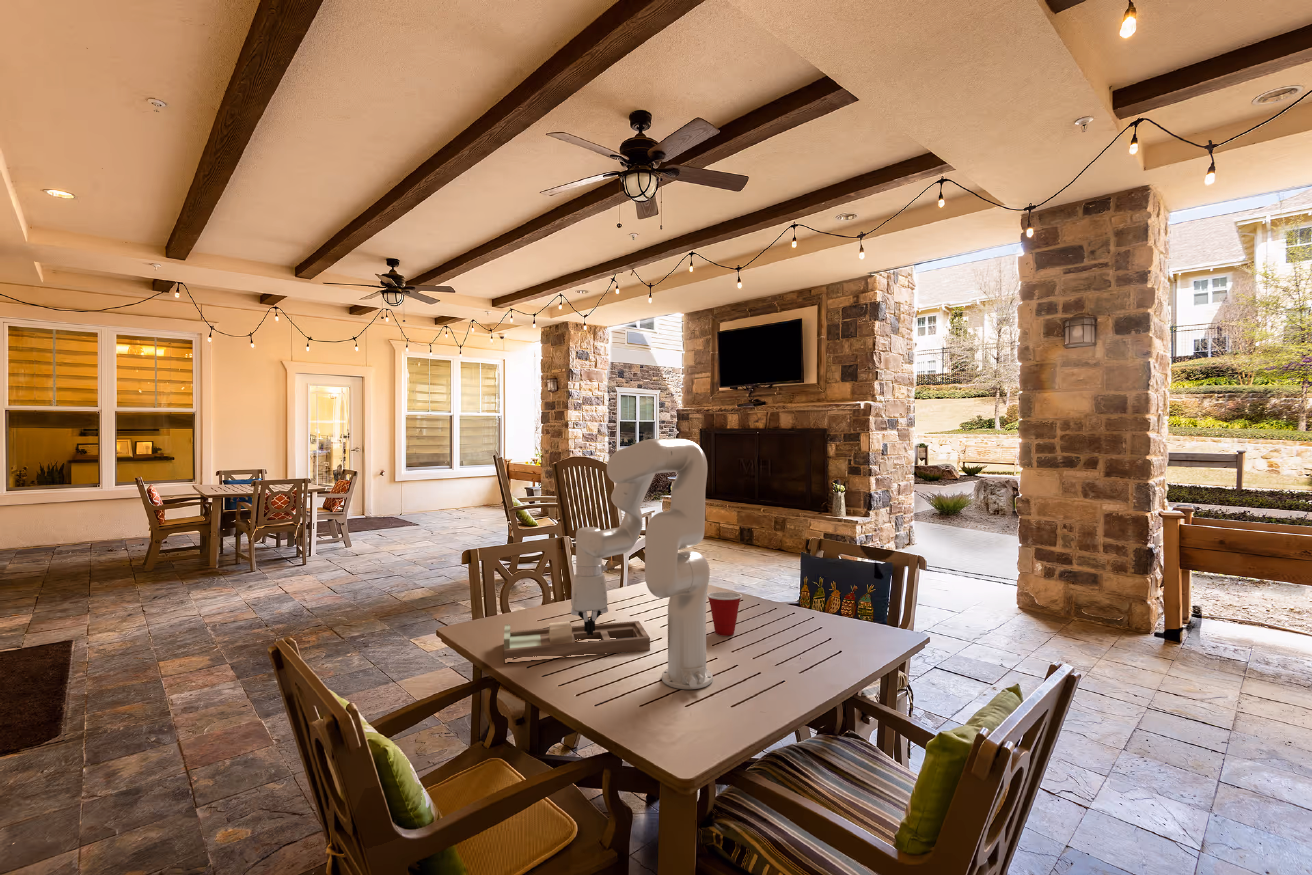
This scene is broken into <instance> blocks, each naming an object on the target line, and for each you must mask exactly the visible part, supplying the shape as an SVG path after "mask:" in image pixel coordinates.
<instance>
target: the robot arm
mask: <svg viewBox="0 0 1312 875" xmlns="http://www.w3.org/2000/svg"><path fill="white" fill-rule="evenodd" d="M666 473H667V474H668V473H677V476H676V477H675V479H674V481H673V484H672V487H671V491H670V506H669V510H666V511H665V510H664V511H660V512H658V513H656V514H654V515H653V516H652V517H651V518H650V520H649V521H648V523H647V526H646V530H645V537H644V540H645V542H644V545H645V546H644V579H645V584H646V587H647V589H648V591H649V592H650V593H651V594H652V595H653V596H654V597H656V598H660V599H666V598H668V599H669V600H668V604H667V668H666V669H665V670H663V671H662V673H661V680H662V682H663V683H664V684H665V685H666V686H668V687H671V688H674V689H678V690H697V689H703V688H705V687H708V686H709V685H711V683H712V682H713V679H714V676H713V673H712V671H710V670H709V669H708V668H707V598H708V597H707V594H708V589H709V588H708V587H709V584H710V583H709V582H710V574H711V573H710V572H711V571H710V565H709V562H708V560H707V559H706V557H705V556H704V555H703V554H702V553H699V552H697V551H694V550H686V551H685V550H684V551H679V550H683V549H686V548H687V549H688V548H690V547H693V546H694V547H695V546H696V545H698V544H700V543H701V542H702V541H703V539H704V536H705V530H706V529H705V527H706V526H705V525H706V487H707V478H708V461H707V457H706V454H705V452H704V450H703V449H702V448H701V447H700V445H698V444H697V443H696V442H694V441H691V440H689V439H685V438H673V437H672V438H649V439H645V440H641V441H638V442H635V443H634V444H631V445H629V446H627V447H623V448H621V449H618V450H617V451H615V452H614V453H613V454H612V455H611V456H610V457H609V459H608V460H607V464H606V475H607V476H608V478H609V479H610V481H612V482H613V483H615V487H614V488H613V490H612V493H611V495H610V499H611V502H612V503H613V505H614V506H615V507H616V508H617V509H619V510H620V511H622V512H624V516H623V519H622V521H621V522H620V525H619V526H618V527H613V528H607V529H602V530H601V528H599V527H596V526H585V527H580V528H578V529H576V531H575V532H576V533H575V567H576V568H575V571H576V572H575V574H573V576H572V583H571V595H570V596H571V599H570V602H571V610H570V615H572V616H577V617H580V618H581V619H582V620H583V625H584V631H585V632H586V633H587V636H589V635H593V631H595V624H596V621H597V619H598V618H599V617H600V615H603V614H606V613H609V609H608V590H607V589H608V588H607V582H606V575H605V573H604V571H608V565H604V564H603V559H605V558H609V557H613V556H617V555H618V556H619V555H623V554H627V553H628V552H630V551H631V550H632V549H633V548H634V546H635V545H636V543H637V541H638V539H639V536H640V534H641V533H642V530H643V513H642V510H641V506H642V503H643V502H644V499H645V497H646V495H647V493H648V490H649V488H650V486H651V484H652V482H653V480H654V478H655V476H656V474H666ZM588 612H591V614H590V617H589V616H588Z"/></svg>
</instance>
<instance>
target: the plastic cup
mask: <svg viewBox="0 0 1312 875" xmlns="http://www.w3.org/2000/svg"><path fill="white" fill-rule="evenodd" d="M742 597H743V595H742V594H741V593H738V592H731V591H715V592H714V591H712V592H709V593H708V592H707V597H706V598H708V601H709V605H710V611H711V616H712V622H713V627H714V632H715V634H716V635H719V636H721V637H722V636H723V637H728V636H732V635H734V634H735V631H736V623H737V619H738V612H739V607H740V602H741V599H742Z"/></svg>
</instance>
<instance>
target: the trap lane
mask: <svg viewBox="0 0 1312 875" xmlns="http://www.w3.org/2000/svg"><path fill="white" fill-rule="evenodd" d="M571 627H572V642H568V643H556V644H550V639H549V627H548V628H547V627H546V628H545V627H544V628H536V629H535V628H534V629H523V630H511V623H510V624H509V623H508V624H504V629H503V630H504V633H503V660H504V659H507V658H514V657H533V656H534V657H535V656H536V657H537V656H569V655H570V656H571V655H584V654H605V653H607V654H605V655H609V654H608V653H616V654H621V653H620V652H626V653H635V652H646V651H650V650H651V636H649V634H648V633H647V631H646V630H645V628H644V627H643V625H642V624H641V623H640V621H639V620H634V621H622V622H621V621H620V622H610V623H609V622H608V623H607V622H605V623H597V624H596V623H595V631H593V635H589V636H587V633H586V632H585V631H584V624H582V625H571ZM610 638H616V639H610ZM577 639H578V640H579V639H601V640H599V641H588V642H575V640H577Z"/></svg>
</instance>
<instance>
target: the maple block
mask: <svg viewBox="0 0 1312 875" xmlns="http://www.w3.org/2000/svg"><path fill="white" fill-rule="evenodd" d="M571 626H572V624H571V621H559V622H550V623H548V628H549V639H550V644H556V643H568V642H572V627H571Z"/></svg>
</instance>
